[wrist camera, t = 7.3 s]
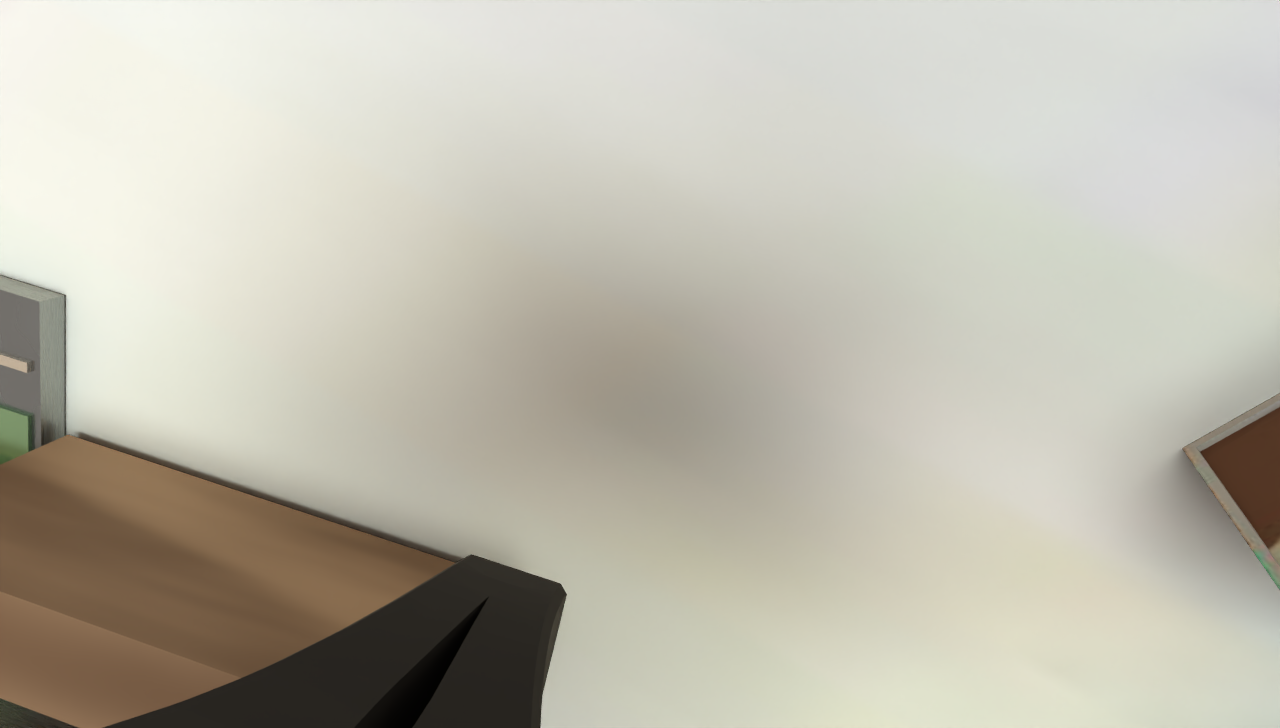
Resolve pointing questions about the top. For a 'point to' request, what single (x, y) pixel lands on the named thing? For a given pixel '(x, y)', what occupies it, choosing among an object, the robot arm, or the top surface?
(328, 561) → the brown wooden block
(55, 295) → the gauge frame
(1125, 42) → the top surface
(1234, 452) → the food container
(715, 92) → the top surface
